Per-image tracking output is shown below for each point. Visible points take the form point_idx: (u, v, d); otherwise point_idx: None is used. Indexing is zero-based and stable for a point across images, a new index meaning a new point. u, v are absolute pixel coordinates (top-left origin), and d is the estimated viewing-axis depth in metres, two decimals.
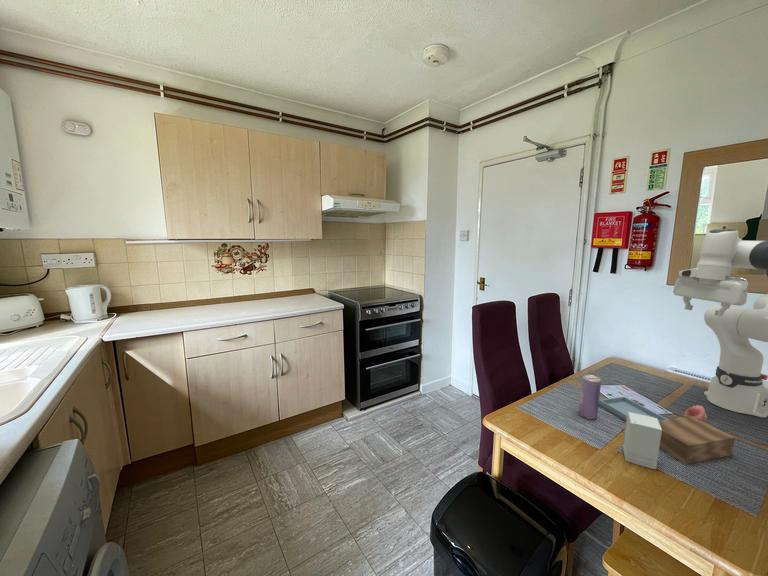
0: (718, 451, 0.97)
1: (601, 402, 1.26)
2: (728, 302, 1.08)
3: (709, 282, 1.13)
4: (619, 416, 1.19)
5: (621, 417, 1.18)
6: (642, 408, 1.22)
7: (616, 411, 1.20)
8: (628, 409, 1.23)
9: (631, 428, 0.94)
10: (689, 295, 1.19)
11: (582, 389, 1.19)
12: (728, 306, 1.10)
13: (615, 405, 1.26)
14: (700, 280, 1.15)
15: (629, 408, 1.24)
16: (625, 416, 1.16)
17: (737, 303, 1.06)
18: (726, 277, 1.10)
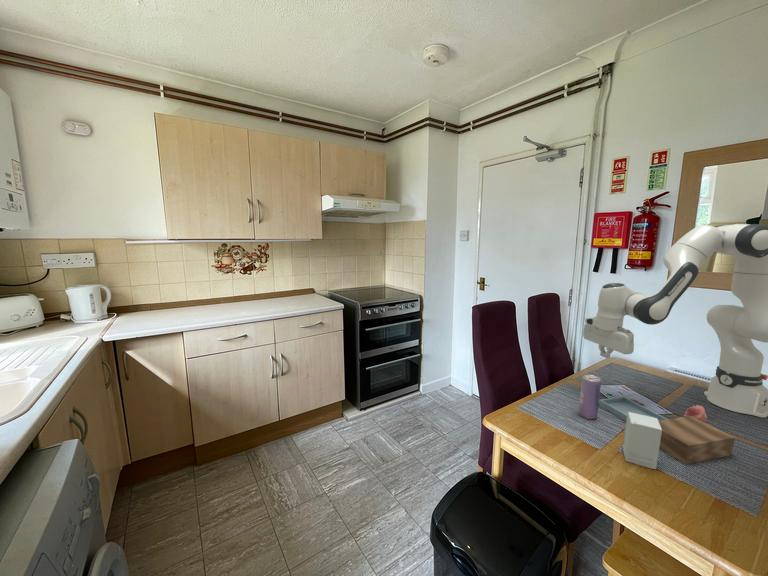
0: (718, 451, 0.97)
1: (601, 402, 1.26)
2: (619, 351, 1.22)
3: (605, 332, 1.27)
4: (619, 416, 1.19)
5: (621, 417, 1.18)
6: (642, 408, 1.22)
7: (616, 411, 1.20)
8: (628, 409, 1.23)
9: (631, 428, 0.94)
10: (593, 340, 1.33)
11: (582, 389, 1.19)
12: (612, 349, 1.27)
13: (615, 405, 1.26)
14: (599, 329, 1.29)
15: (629, 408, 1.24)
16: (625, 416, 1.16)
17: (625, 353, 1.20)
18: (618, 328, 1.24)
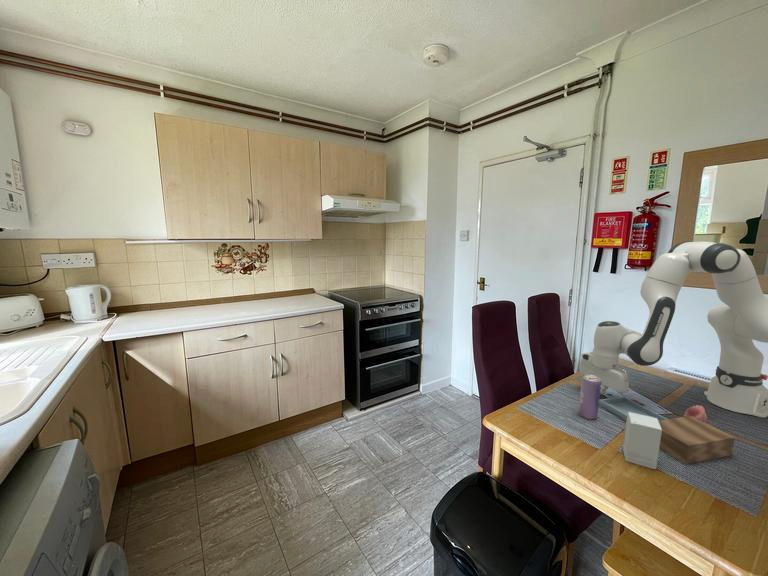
0: (718, 451, 0.97)
1: (601, 402, 1.26)
2: (614, 389, 1.25)
3: (601, 369, 1.29)
4: (619, 416, 1.19)
5: (621, 417, 1.18)
6: (642, 408, 1.22)
7: (616, 411, 1.20)
8: (628, 409, 1.23)
9: (631, 428, 0.94)
10: None
11: (582, 389, 1.19)
12: None
13: (615, 405, 1.26)
14: (595, 365, 1.32)
15: (629, 408, 1.24)
16: (625, 416, 1.16)
17: (620, 391, 1.22)
18: (613, 366, 1.26)
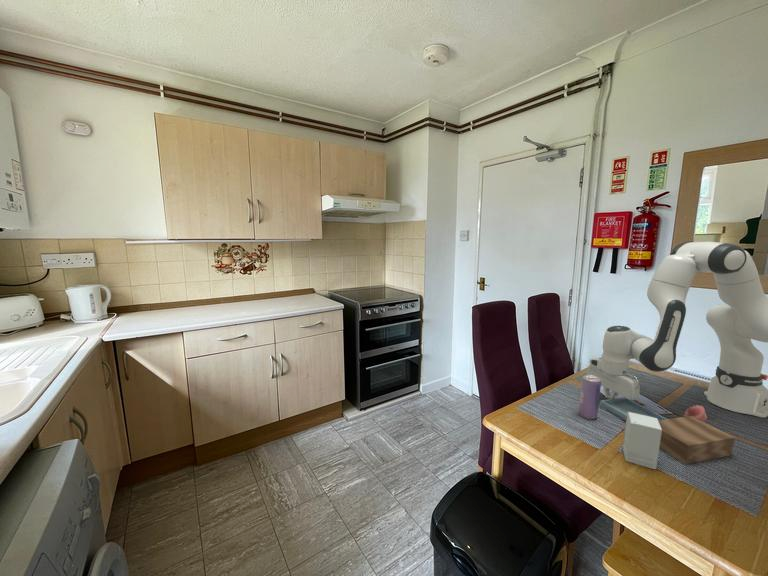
0: (718, 451, 0.97)
1: (602, 403, 1.25)
2: (625, 396, 1.21)
3: (610, 375, 1.25)
4: (620, 417, 1.18)
5: (623, 418, 1.17)
6: (644, 409, 1.21)
7: (617, 412, 1.19)
8: (630, 410, 1.22)
9: (631, 428, 0.94)
10: None
11: (582, 389, 1.19)
12: (617, 393, 1.26)
13: (616, 406, 1.25)
14: (604, 371, 1.28)
15: (630, 409, 1.23)
16: None
17: (631, 399, 1.19)
18: (623, 372, 1.22)
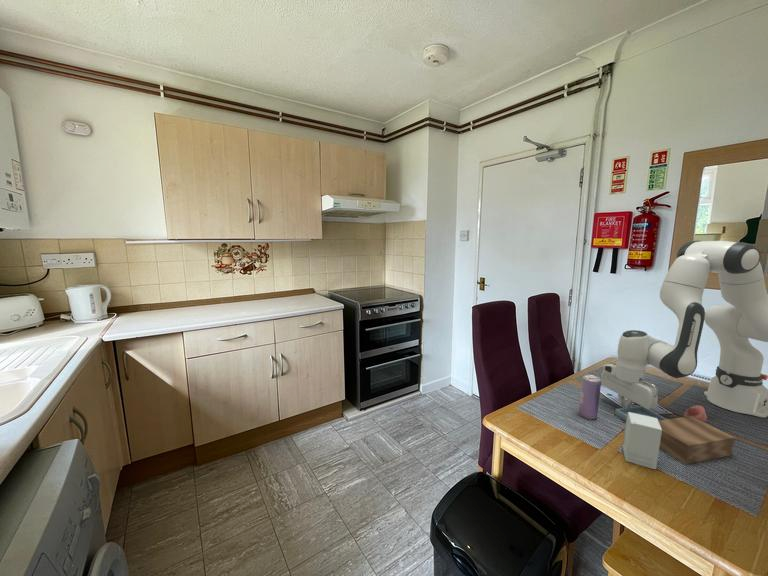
0: (718, 451, 0.97)
1: (617, 412, 1.19)
2: (642, 405, 1.14)
3: (626, 382, 1.19)
4: None
5: None
6: (661, 419, 1.15)
7: None
8: None
9: (631, 428, 0.94)
10: (612, 389, 1.26)
11: (582, 389, 1.19)
12: (633, 401, 1.20)
13: None
14: (619, 378, 1.21)
15: None
16: None
17: (649, 408, 1.12)
18: (640, 380, 1.16)
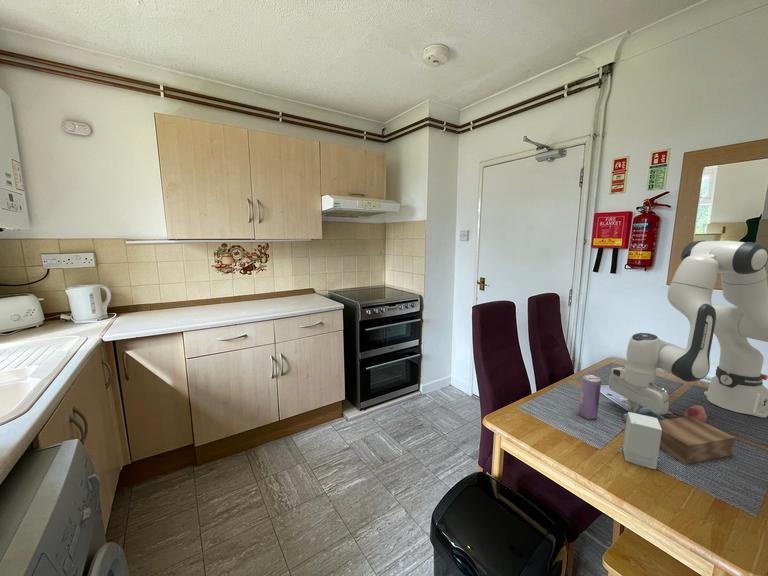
0: (718, 451, 0.97)
1: (626, 417, 1.16)
2: (652, 410, 1.11)
3: (635, 387, 1.15)
4: None
5: None
6: None
7: None
8: None
9: (631, 428, 0.94)
10: (621, 394, 1.22)
11: (582, 389, 1.19)
12: (641, 405, 1.17)
13: None
14: (628, 383, 1.18)
15: None
16: None
17: (659, 413, 1.09)
18: (650, 384, 1.13)
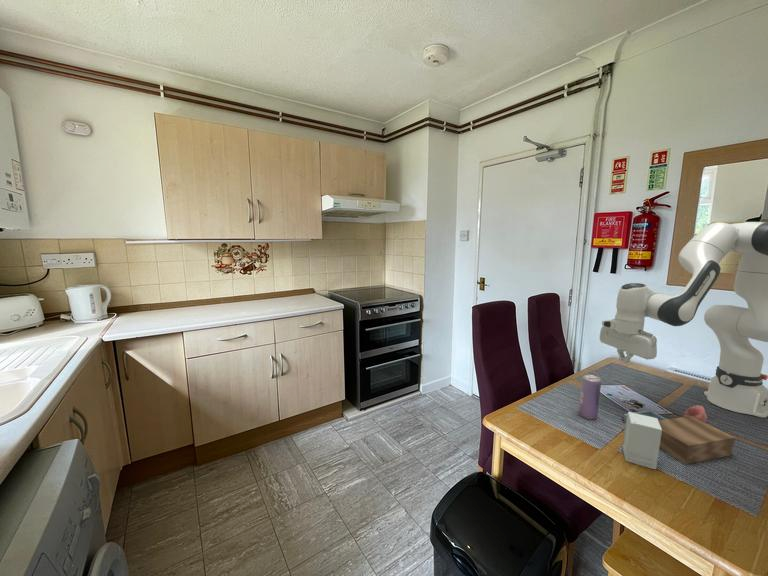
0: (718, 451, 0.97)
1: (626, 417, 1.16)
2: (641, 356, 1.14)
3: (625, 335, 1.19)
4: None
5: None
6: None
7: None
8: None
9: (631, 428, 0.94)
10: (612, 344, 1.25)
11: (582, 389, 1.19)
12: (632, 354, 1.20)
13: None
14: (618, 332, 1.21)
15: None
16: None
17: (648, 358, 1.12)
18: (639, 331, 1.16)
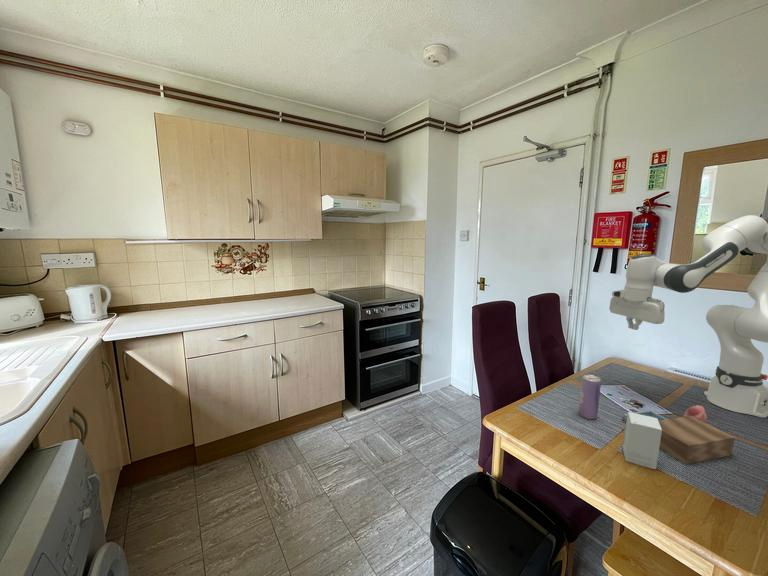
0: (718, 451, 0.97)
1: (626, 417, 1.16)
2: (649, 321, 1.22)
3: (634, 303, 1.26)
4: None
5: None
6: None
7: None
8: None
9: (631, 428, 0.94)
10: (621, 313, 1.33)
11: (582, 389, 1.19)
12: (641, 321, 1.27)
13: None
14: (627, 301, 1.29)
15: None
16: None
17: (656, 322, 1.19)
18: (647, 298, 1.23)
